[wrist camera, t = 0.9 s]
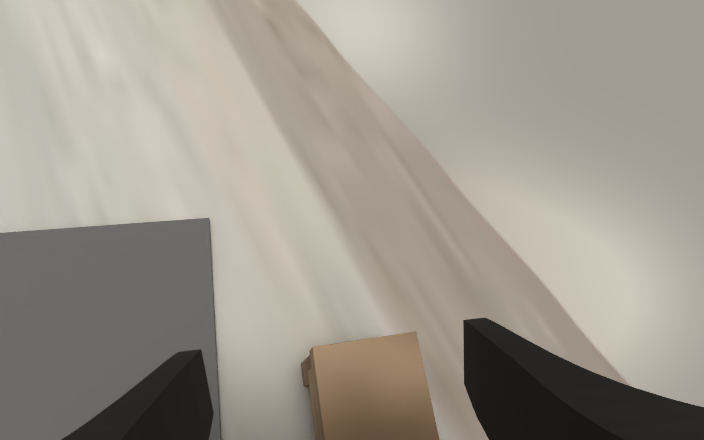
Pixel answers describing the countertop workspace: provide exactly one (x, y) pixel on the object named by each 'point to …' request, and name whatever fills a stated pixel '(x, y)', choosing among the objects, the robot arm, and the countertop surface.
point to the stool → (370, 390)
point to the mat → (98, 319)
